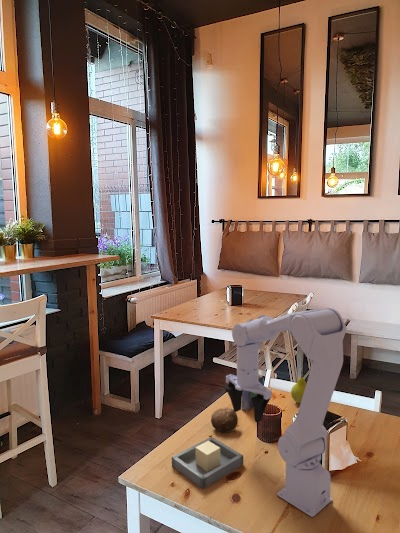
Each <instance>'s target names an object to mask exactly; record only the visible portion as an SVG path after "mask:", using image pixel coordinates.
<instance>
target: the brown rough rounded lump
mask: <svg viewBox="0 0 400 533" xmlns="http://www.w3.org/2000/svg"><path fill="white" fill-rule="evenodd" d="M210 418H211V419H210V422H211V425H212V427H213V428H214V430H215V431H218V432H220V433H230V432H232V431H233V430H235V429H236V427H237V426H238V422H239V421H238V420H239V418H238V414H237V412H234V409H232V408H231V407H226V406H224V407H222V408H219V409H217V410H215V411H214V412H213V413H211V417H210Z"/></svg>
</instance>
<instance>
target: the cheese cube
mask: <svg viewBox="0 0 400 533" xmlns="http://www.w3.org/2000/svg"><path fill="white" fill-rule="evenodd" d="M195 453H196V464H197V465H198V466H200V467H201V468H203V469H204V470H206V471H207V472H208V471H210V470H211V469H213V468H215V467H217V466H218V465H220V447H218V446H216V445H215V444H213V443H211V442H210V441H207V442H205V443H203V444H201V445H199V446H197V447H195Z"/></svg>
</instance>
